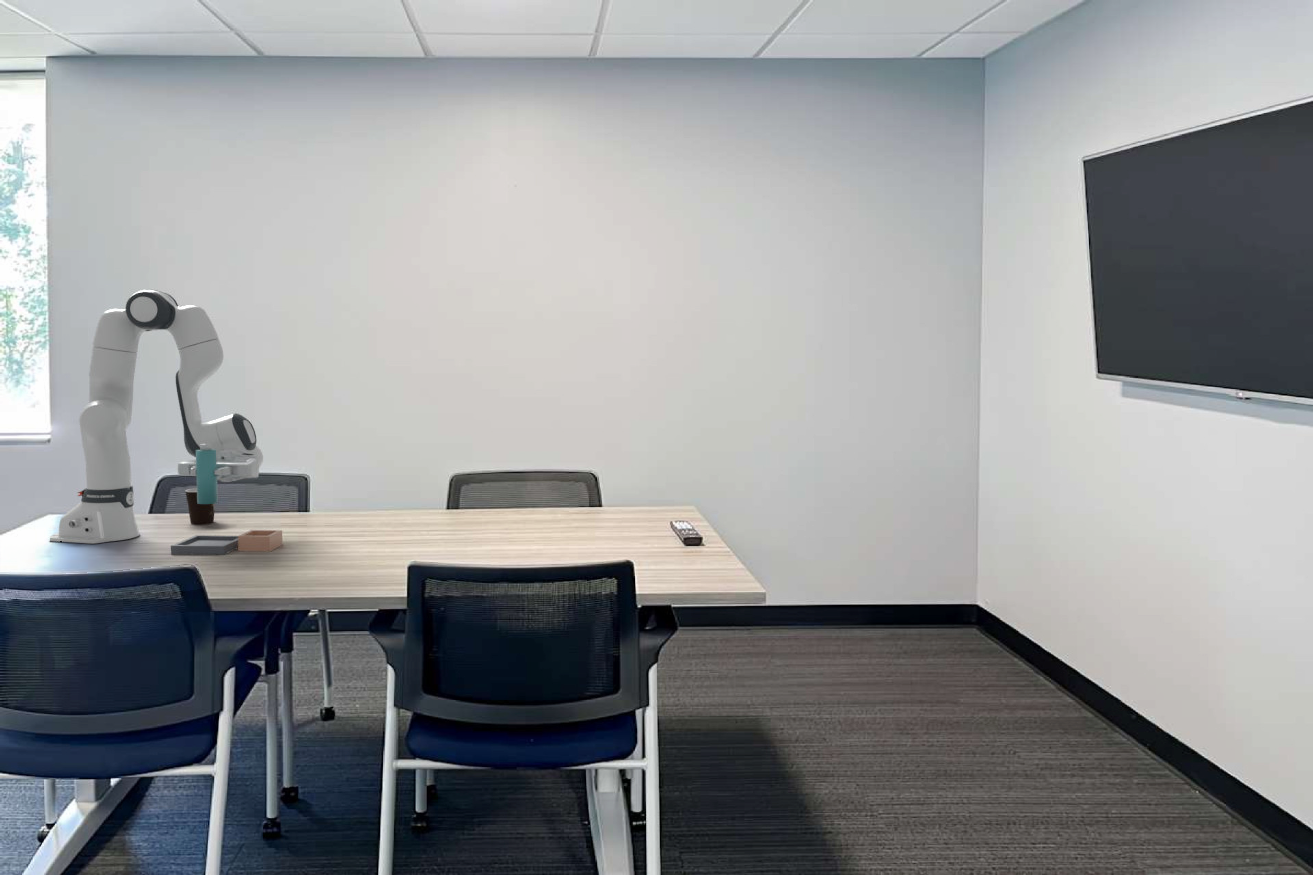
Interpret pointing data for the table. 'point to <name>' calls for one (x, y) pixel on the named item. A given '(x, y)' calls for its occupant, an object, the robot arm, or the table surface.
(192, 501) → the coffee mug
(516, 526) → the table surface
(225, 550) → the tray
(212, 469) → the bottle
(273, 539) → the orange open box
